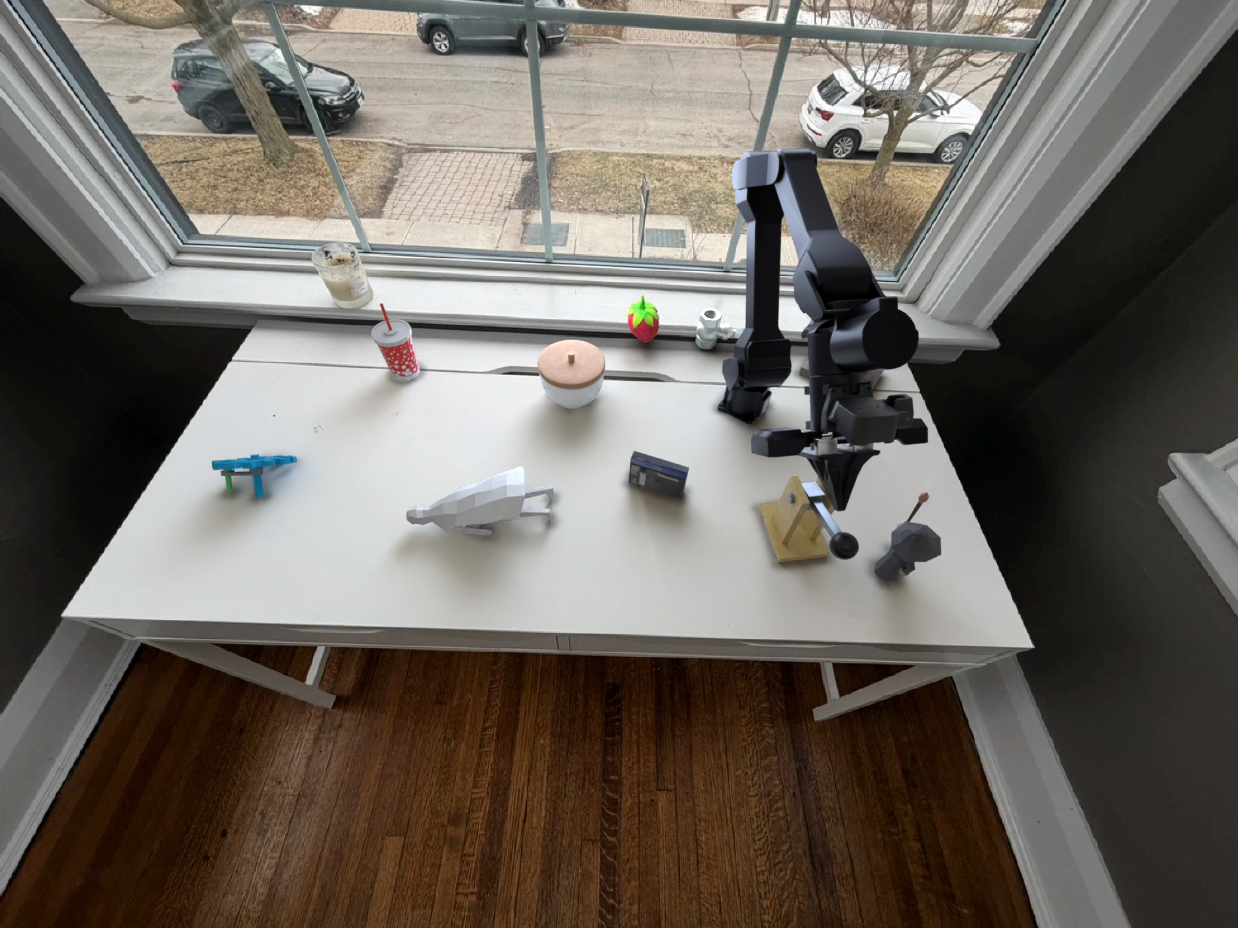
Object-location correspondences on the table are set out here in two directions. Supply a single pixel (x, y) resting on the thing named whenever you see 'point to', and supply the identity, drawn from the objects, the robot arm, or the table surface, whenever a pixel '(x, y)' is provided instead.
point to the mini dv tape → (657, 474)
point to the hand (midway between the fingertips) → (839, 510)
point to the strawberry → (643, 320)
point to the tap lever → (830, 524)
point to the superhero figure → (482, 504)
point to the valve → (713, 329)
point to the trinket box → (571, 372)
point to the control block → (868, 376)
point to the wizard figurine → (909, 547)
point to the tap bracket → (795, 524)
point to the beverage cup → (396, 347)
